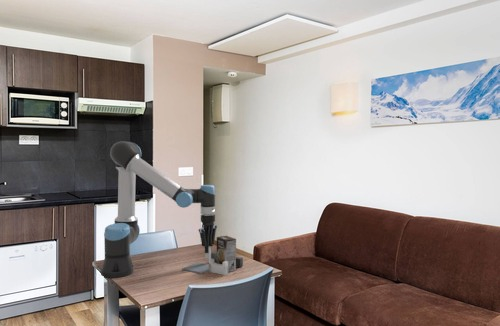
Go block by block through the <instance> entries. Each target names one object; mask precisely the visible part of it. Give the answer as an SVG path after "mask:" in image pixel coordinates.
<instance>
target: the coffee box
mask: <svg viewBox="0 0 500 326" xmlns="http://www.w3.org/2000/svg"><path fill="white" fill-rule="evenodd" d="M216 252H217V264H222V265H223V262H224V261H228V273H229V272H235V271H236V269H237V267H236V257H237V238H235V237H231V236H228V235H221V236H216Z"/></svg>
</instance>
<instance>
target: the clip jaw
mask: <svg viewBox="0 0 500 326" xmlns="http://www.w3.org/2000/svg"><path fill="white" fill-rule="evenodd" d="M208 264H209V271H208V272H209V273H214V274H219V275H223V276H227V275H229V272H228V261H224V262H223V265H222V264H217V263H216V262H214V259H208Z"/></svg>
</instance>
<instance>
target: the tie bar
mask: <svg viewBox="0 0 500 326" xmlns="http://www.w3.org/2000/svg"><path fill="white" fill-rule="evenodd" d="M211 259H214V263H217V251H211ZM243 260H244V258H243V257H240V256H236V268H242V267H244V266H243V265H244V264H243V263H244V261H243Z"/></svg>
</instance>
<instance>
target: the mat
mask: <svg viewBox="0 0 500 326" xmlns="http://www.w3.org/2000/svg"><path fill="white" fill-rule="evenodd" d="M181 270H182V271H187V272H192V273H195V274H201V275H203V274H206V273H208V272H209V263H204V262H200V261H198V262H194V263H192V264H190V265H187V266H185V267H182V268H181Z"/></svg>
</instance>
